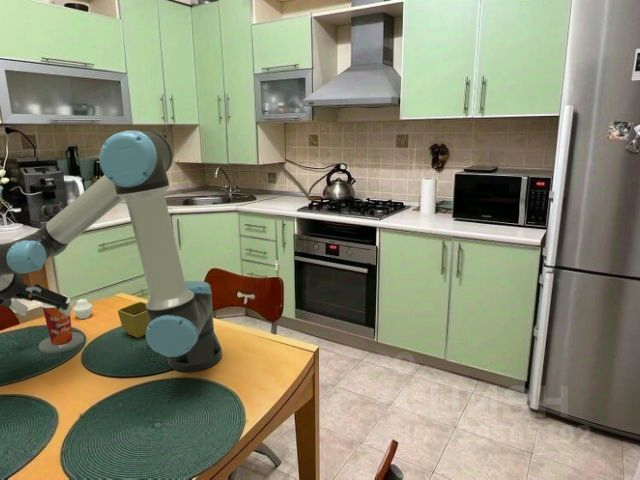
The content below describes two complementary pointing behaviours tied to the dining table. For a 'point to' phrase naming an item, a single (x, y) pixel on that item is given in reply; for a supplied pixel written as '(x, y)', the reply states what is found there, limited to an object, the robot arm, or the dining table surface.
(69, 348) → the coaster
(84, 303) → the muffin
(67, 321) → the paper cup
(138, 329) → the flower pot
